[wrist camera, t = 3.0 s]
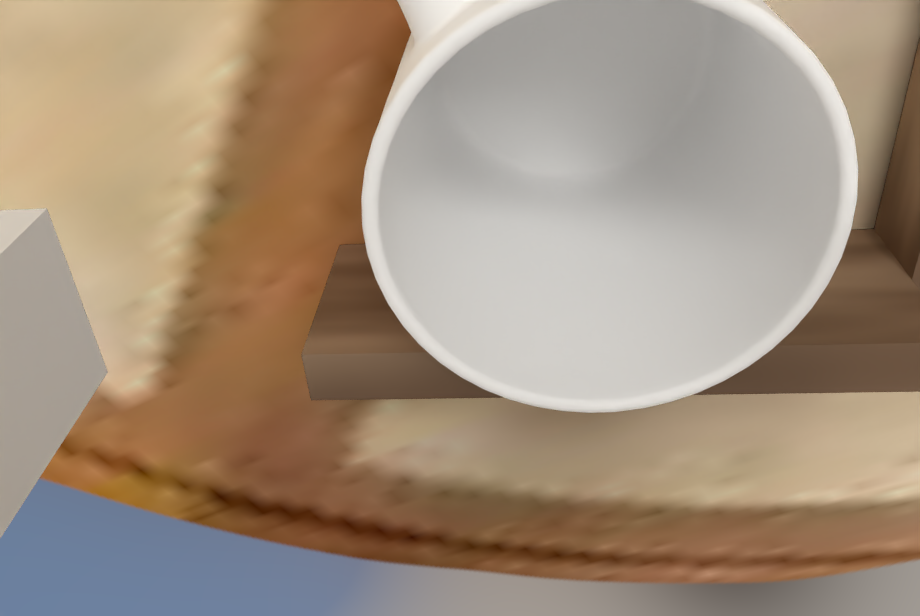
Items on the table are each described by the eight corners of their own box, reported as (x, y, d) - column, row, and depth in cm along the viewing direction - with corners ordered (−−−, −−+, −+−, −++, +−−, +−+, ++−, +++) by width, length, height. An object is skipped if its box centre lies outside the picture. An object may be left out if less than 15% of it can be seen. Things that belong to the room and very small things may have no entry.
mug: (531, -342, 19) (546, -419, 10) (782, 73, 24) (943, 270, 15) (268, -83, 22) (103, 33, 13) (536, 234, 27) (546, 474, 18)
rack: (231, -415, 18) (125, -475, 13) (1130, -501, 17) (1388, -602, 12) (346, 285, 28) (311, 400, 23) (915, 271, 27) (1005, 390, 22)
